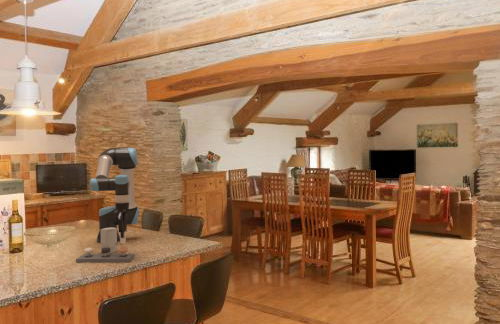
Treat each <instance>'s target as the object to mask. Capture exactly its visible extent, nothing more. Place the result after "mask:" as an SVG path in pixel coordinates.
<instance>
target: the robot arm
mask: <svg viewBox="0 0 500 324" xmlns="http://www.w3.org/2000/svg"><path fill="white" fill-rule="evenodd" d="M96 161H97V169H96V173H95V177H94V178H93V177H92V178H91V179H90V180H89V188H90V191H92V192H109V191H111V192H114V193H115V194H114V199H115V204H114V205H110V206H105V207H103V208H100V209H99V210H98V226H99V227H98V229H99V231H98V234H97V237H96V242H97V243H100V244H101V230H100V229H104V228H110V227H111V228H117V242H119V241H120V244H126V242H127V241H126V240H127V239H126V237H127V235H126V232H127V231H128V230H127V229H128V228H127V226H129V225H130V226H132V225H136V224H138V222H139V214H140V207H138V204H137V203H136V202H135V201H136V200H135V199H136V198H135V177H134V176H135V173H134V172H135V171H134V170H135V169H136V168H137V166H138V164H139V162H138V154H137V149H136V148H135V147H110V148H107V149H105V150H103V152H101V153H100V154H99V156H98V157H97V160H96ZM112 166H117V169H119V170H120V174H118V175H115V176H114V177H110V171H111V167H112Z"/></svg>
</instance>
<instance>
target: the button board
mask: <svg viewBox="0 0 500 324" xmlns="http://www.w3.org/2000/svg"><path fill="white" fill-rule="evenodd" d="M135 258H136V254H135V252H134V253H133V252H132V253H130V252H129V253H126V257H121V253H109V254H108V257H104V253H91V257H86V253H83V254H82V255H79V256H78V257H77V258H76V259H75V263H81V264H82V262H90V263H130V262H131V261H132V260H133V259H135Z"/></svg>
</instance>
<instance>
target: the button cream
mask: <svg viewBox="0 0 500 324" xmlns="http://www.w3.org/2000/svg"><path fill="white" fill-rule="evenodd" d="M83 252H84V253H83V254H86V257H91V254H93V252H94V247H85V248H83Z"/></svg>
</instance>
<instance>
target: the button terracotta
mask: <svg viewBox="0 0 500 324" xmlns="http://www.w3.org/2000/svg"><path fill="white" fill-rule="evenodd" d="M128 251H129V250H128V247H125V246H123V247H119V248H118V253H119V254H121V257H126V254H127V253H128Z"/></svg>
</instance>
